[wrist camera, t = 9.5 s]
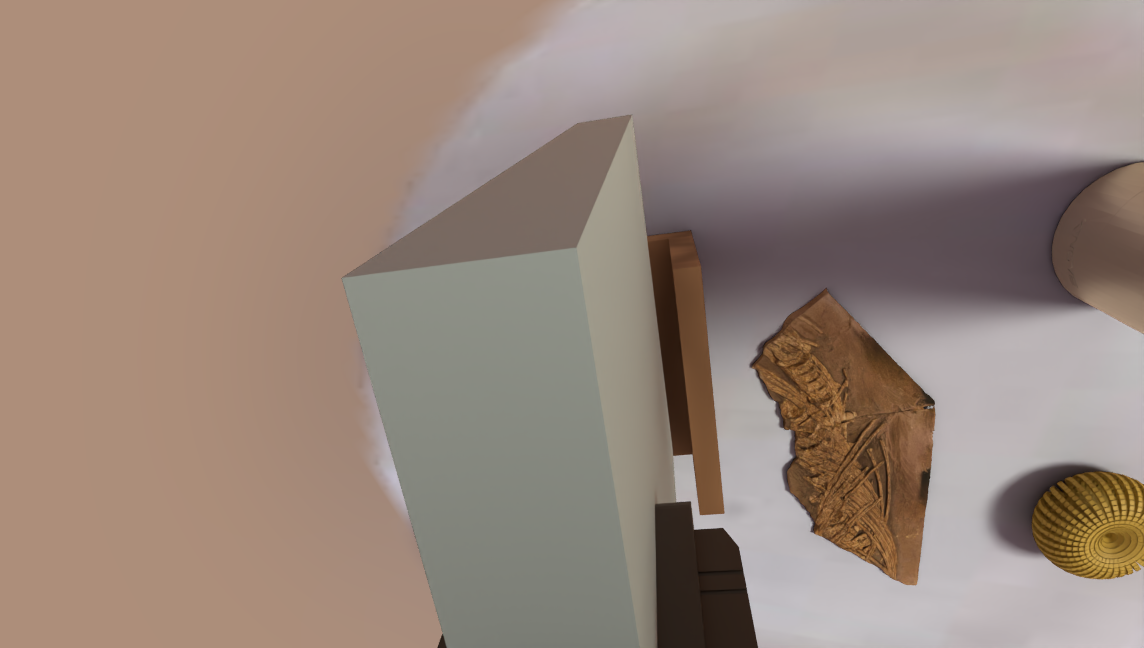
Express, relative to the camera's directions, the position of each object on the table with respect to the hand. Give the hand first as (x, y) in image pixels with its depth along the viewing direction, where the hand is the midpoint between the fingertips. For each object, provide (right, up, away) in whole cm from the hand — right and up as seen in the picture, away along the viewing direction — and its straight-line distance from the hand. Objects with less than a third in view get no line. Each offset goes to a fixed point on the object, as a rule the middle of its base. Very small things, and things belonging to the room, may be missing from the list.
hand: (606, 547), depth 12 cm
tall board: (+2, +5, +14) cm, 15 cm away
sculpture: (+36, -9, +35) cm, 51 cm away
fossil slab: (+20, -5, +36) cm, 41 cm away
